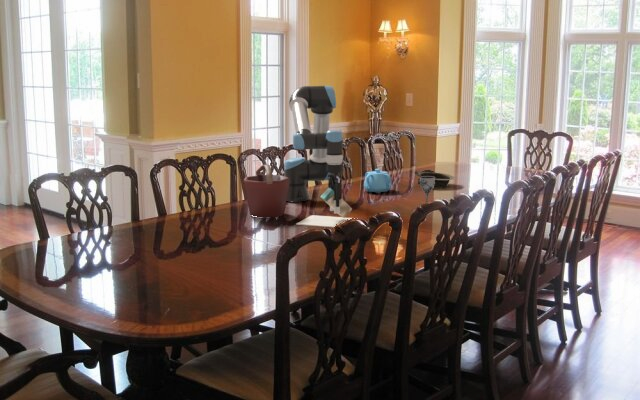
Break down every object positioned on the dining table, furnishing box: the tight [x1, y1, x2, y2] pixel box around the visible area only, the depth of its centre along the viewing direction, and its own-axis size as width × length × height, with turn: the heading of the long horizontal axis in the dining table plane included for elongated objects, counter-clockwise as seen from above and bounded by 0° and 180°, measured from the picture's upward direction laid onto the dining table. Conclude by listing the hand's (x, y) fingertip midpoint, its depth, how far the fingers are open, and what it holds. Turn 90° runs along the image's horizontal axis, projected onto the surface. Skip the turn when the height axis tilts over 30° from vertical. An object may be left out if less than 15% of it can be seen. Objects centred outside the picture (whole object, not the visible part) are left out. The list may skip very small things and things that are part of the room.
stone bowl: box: [414, 169, 456, 189], centre depth 418 cm, size 25×25×9 cm
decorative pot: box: [363, 168, 393, 195], centre depth 401 cm, size 16×16×14 cm
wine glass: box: [419, 176, 435, 203], centre depth 360 cm, size 8×8×15 cm
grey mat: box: [295, 214, 359, 228], centre depth 324 cm, size 24×20×1 cm
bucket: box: [243, 164, 289, 218], centre depth 339 cm, size 24×22×25 cm
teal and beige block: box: [319, 187, 353, 218], centre depth 324 cm, size 6×6×14 cm
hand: (334, 211), depth 324 cm, fingers closed on teal and beige block, 6 cm apart
